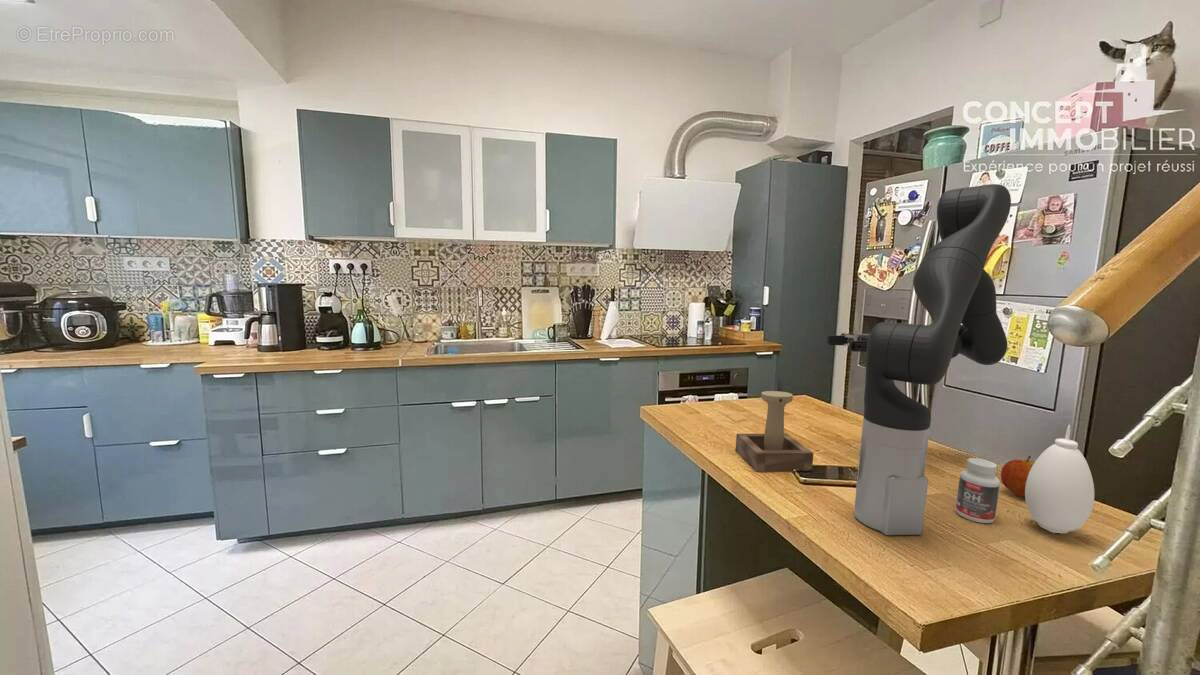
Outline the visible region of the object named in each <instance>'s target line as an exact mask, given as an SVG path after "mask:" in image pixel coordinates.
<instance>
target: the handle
mask: <svg viewBox="0 0 1200 675" xmlns="http://www.w3.org/2000/svg"><path fill="white" fill-rule="evenodd" d="M760 397H761V400H763V401H764V402H765V403H767V412H766V413H767V414H766V420H765V421H766V422H765V428H764V434H765V435H764V449H765V450H782V447H783V440H784V433H785V409H786V408H785V407H786V405H787V404H791V402H793V400H794V399H793V398H794V396H793V394H792V393H790V392H787V391H778V390H775V391H774V390H768V391H766V390H765V391H762V392H761V396H760Z"/></svg>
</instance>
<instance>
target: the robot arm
mask: <svg viewBox="0 0 1200 675" xmlns="http://www.w3.org/2000/svg"><path fill="white" fill-rule="evenodd" d="M1011 197H1012V196H1011V193H1010V190H1008V188H1007V187H1006V186H1005V185H1004V184H1003V185H1002V184H999V183H998V184H997V183H994V184H993V183H990V184H983V185H976V186H969V187H961V188H955V189H950V190H946V191H945V192H943V193H942V194H941V195H940V197H939V200H938V202H937V205H936V206H937V207H936V222H937V228H938V233H939V236H940V241H939V242H937V243H936V244H934V245H933V246H932V247H931V248H930V249H929V250H927V252H926V253H925V254H924V256H923V258H922V260H921V261H920V263H919V265H918V267H917V269H916V271H915V273H914V276H913V280H912V286H913V289H914V293H915V295H916V297H917V298H918V300H919V302H920V303H921V305H922V306H923V307H924V309H925V310H926V311H927V313H928V314H929V316H930V318H931V320H932V323H930V324H927V325H926V324H916V323H901V322H890V321H881V322H878V323H877V324H875V325H874V327H872V330H870V333H858V332H857V333H844V332H842V333H840V335H839V334H838V335H837V334H833V335H832V334H831V335H830V334H829V335H827V338H826V344H827V345H828V346H843V347H848V351H849V352H853V353H854V352H858V353H859V352H862V353H863V352H865V353H866V354H865V380H864V395H863V396H864V397H863V402H864V403H863V406H864V408H863V420H862V428H861V435H860V436H861V438H860V447H859V456H858V457H859V458H858V466H857V478H856V486H855V487H856V488H855V496H854V497H855V498H854V508H853V515H854V517H855V518H856V519H857V520H858V521H859V522H860V523H862V524H864V525H865V526H867V527H869V528H871V529H873V530H875V531H879V532H880V533H882V534H884V535H885V536H907V535H908V536H915V535H918V536H920V535H922V534H923V528H924V519H925V512H926V503H927V495H928V494H927V493H928V487H929V478H928V477H927V476H925V471H926V470H925V469H926V463H927V453H928V446H929V438H930V437H929V436H930V430H931V429H930V428H931V423H932V412H931V410H930V409H929V407H927V406H926V405H925V404H923V403H921V402H919V401H917V400H915V399H914V398H911V397H910V396H908V395H907V394H905V393H904V392H903V391H901V390H900V388H898V387H897V386H896V384H895V381H898V382H902V383H904V382H905V383H910V384H918V385H927V386H928V385H929V386H930V385H931V386H933V385H936V384H938V383H940V381H941V380H942V379H943V378H944V377H945V375H946V373H947V371H948V369H949V366H950V364H951V361H952V359H954V358H955V357H957V356H958V355H959V354H960V355H962V356H964V357H966V358H968V359H970V360H971V361H973V362H975V363H976V364H980V365H983V366H992V365H995V364H997V363H999V362H1000V361H1002V359H1003V358H1004V357H1005V355H1006V354H1007V351H1008V339H1007V336H1006V332H1005V329H1004V327H1003V325H1002V322H1001V320H1000V318H999V315H998V312H997V292H996V286H995V282H994V281H993V278H992V277H991V276H990V274H989V273H988V272H987V271H986V270H985V269H984V268H985V265H986V263H987V260H988V257H989V254H990V252H991V250H992V248H993V246H994V244H995V242H996V241H997V239H998V237H999V235H1000V233H1001V232H1002V230H1003V229H1004V227H1005V225H1006V223H1007V222H1008V218H1009V216H1010V211H1011V206H1012V198H1011Z"/></svg>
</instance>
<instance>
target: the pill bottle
mask: <svg viewBox="0 0 1200 675" xmlns="http://www.w3.org/2000/svg"><path fill="white" fill-rule="evenodd" d="M997 469H998V465H997V464H996V463H995V462H992V461H989V460H987V459H983V458H977V457H970V458H968V459H967V460H966V469H963V470H962V471H961V472H960V473H959V480H958V481H959V482H958V489H957V496H956V502H955V512H956V513H957V514H958V515H959V516H961V517H963V518H965V519H967V520H969V521H972V522H975V523H976V522H977V523H980V524H991V523H993V522H995V519H996V514H997V506H998V501H999V493H1000V487H1001V481H1000V479H999V478H998V477H997V476H996V474H997Z"/></svg>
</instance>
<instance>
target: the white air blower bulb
mask: <svg viewBox="0 0 1200 675" xmlns="http://www.w3.org/2000/svg"><path fill="white" fill-rule="evenodd" d="M1070 437H1071V424H1068V426H1067V428H1066V431H1065V437H1064V438H1056V439H1054V444H1051V445H1050V446H1049V447H1047V448H1046V449H1045V450H1044V451H1042V453H1041V454H1040V455H1039V456H1038V457H1037V459H1035V461H1034V462H1035V463H1034V464H1033V466H1032V468H1031V470H1030V472H1029V474H1028V477H1027V481H1026V486H1025V498H1024V500H1025V504H1026V507H1027V510H1028V512H1029V514H1030V516H1031V518H1032V520H1034V521H1036V522H1037V524H1038V525H1039V526H1040V527H1041V528H1043V529H1046V530H1045V531H1047V530H1048V531H1050V532H1049V533H1051V532H1053V533H1052V534H1055V533H1060V534H1068V533H1069V532H1075V531H1077V530H1079V529H1080V528H1082V527H1083V525H1084V524H1085V523H1086V522H1087V521H1088V520H1089V518H1090V515H1091V514H1092V510H1093V508H1094V503H1095V486H1094V485H1095V484H1094V480H1093V476H1092V471H1091V469H1090V466H1089V464H1088V462H1087V459H1086V458H1085V457H1084V455H1083V453H1082V452H1081V451H1080V449H1078V448H1079V444H1078V442H1077V441H1075V440H1071V439H1070ZM1048 531H1047V532H1048Z"/></svg>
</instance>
